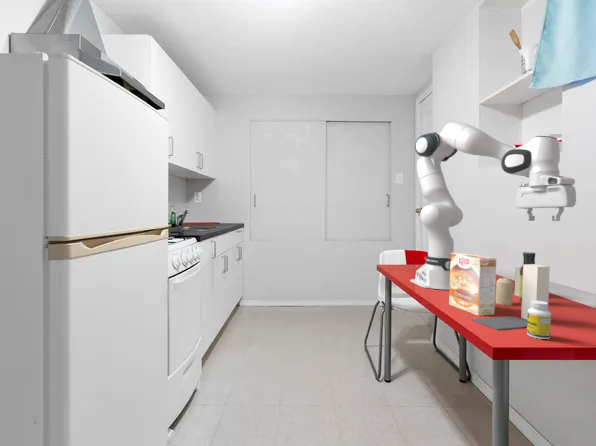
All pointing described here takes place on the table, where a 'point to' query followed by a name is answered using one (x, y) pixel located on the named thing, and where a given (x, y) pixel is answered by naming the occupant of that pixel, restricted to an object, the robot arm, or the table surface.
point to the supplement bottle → (539, 320)
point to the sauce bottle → (528, 259)
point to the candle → (504, 291)
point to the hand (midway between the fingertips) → (543, 220)
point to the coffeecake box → (472, 283)
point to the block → (534, 286)
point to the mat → (502, 322)
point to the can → (517, 281)
